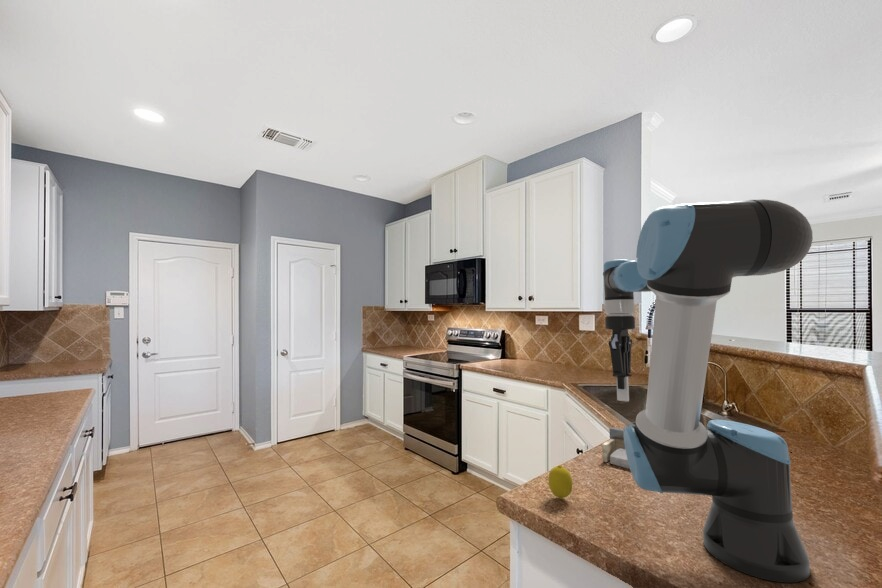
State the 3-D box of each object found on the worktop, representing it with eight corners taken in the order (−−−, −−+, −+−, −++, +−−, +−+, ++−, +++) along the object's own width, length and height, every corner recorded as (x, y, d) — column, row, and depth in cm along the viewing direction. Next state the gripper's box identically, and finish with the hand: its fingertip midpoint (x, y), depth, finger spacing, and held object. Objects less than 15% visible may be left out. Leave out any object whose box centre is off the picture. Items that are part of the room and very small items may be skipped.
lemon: (562, 492, 97) (561, 459, 97) (577, 502, 92) (576, 467, 92) (544, 496, 95) (543, 463, 95) (558, 506, 90) (557, 471, 90)
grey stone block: (612, 475, 115) (603, 457, 115) (620, 464, 119) (611, 446, 120) (645, 475, 108) (636, 455, 108) (652, 462, 112) (643, 444, 113)
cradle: (656, 474, 106) (655, 455, 106) (602, 461, 116) (602, 444, 116) (664, 465, 112) (663, 447, 112) (612, 453, 122) (612, 437, 122)
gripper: (613, 315, 116) (616, 395, 114) (597, 315, 106) (600, 402, 105) (640, 315, 111) (644, 398, 109) (626, 315, 101) (630, 406, 100)
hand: (623, 400), depth 107 cm, fingers closed
